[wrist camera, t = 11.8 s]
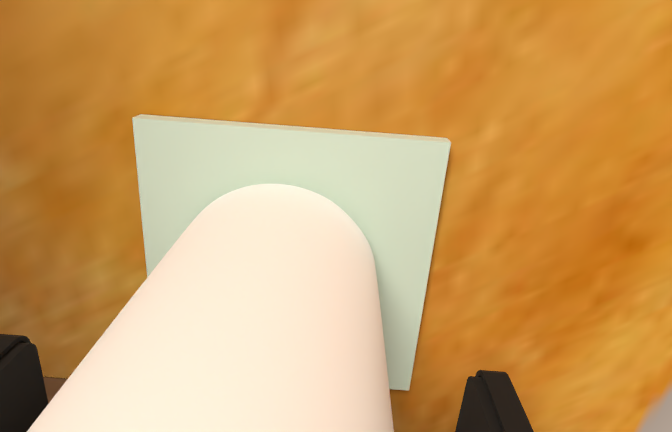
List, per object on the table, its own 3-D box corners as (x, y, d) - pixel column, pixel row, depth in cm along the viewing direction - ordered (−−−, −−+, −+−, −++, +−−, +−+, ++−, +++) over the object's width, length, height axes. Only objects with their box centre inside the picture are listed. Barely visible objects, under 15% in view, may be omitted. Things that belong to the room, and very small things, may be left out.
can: (409, 301, 16) (541, 914, 5) (253, 373, 18) (89, 981, 6) (310, 140, 14) (166, 585, 3) (143, 237, 15) (-379, 787, 4)
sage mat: (140, 114, 14) (132, 118, 14) (446, 137, 15) (450, 142, 14) (162, 360, 18) (156, 371, 18) (406, 379, 18) (408, 390, 18)
